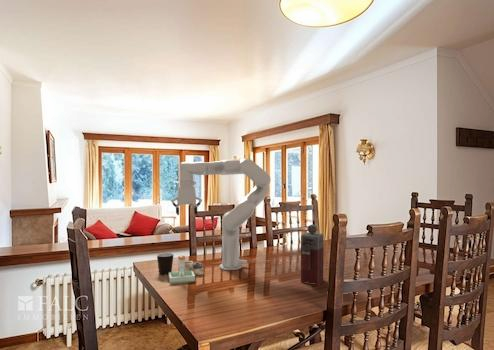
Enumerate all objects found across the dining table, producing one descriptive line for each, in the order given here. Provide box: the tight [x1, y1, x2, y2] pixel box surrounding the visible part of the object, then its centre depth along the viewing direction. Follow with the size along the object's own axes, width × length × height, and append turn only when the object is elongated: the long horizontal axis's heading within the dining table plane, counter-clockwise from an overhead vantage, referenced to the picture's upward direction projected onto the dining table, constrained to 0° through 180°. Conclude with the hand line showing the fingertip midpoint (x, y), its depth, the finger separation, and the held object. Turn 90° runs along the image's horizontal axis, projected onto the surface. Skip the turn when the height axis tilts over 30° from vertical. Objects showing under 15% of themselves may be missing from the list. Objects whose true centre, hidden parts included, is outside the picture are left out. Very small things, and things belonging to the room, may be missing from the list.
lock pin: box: [177, 255, 186, 277], centre depth 167 cm, size 3×3×11 cm
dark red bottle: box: [300, 224, 324, 285], centre depth 165 cm, size 9×11×28 cm
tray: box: [168, 270, 196, 285], centre depth 167 cm, size 12×10×3 cm
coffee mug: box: [156, 252, 175, 276], centre depth 179 cm, size 12×9×10 cm
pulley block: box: [185, 260, 204, 276], centre depth 178 cm, size 11×7×6 cm, turn 107°
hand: (186, 214), depth 188 cm, fingers open, 9 cm apart
